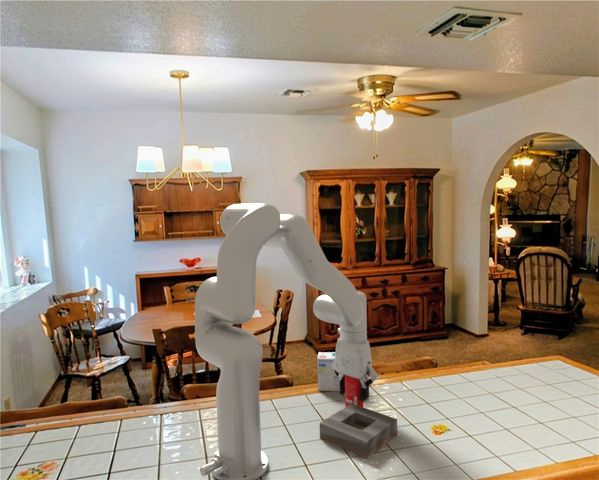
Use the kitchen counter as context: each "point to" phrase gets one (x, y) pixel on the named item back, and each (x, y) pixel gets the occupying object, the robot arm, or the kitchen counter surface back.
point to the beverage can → (352, 391)
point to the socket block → (358, 430)
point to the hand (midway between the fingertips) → (354, 395)
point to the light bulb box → (327, 372)
